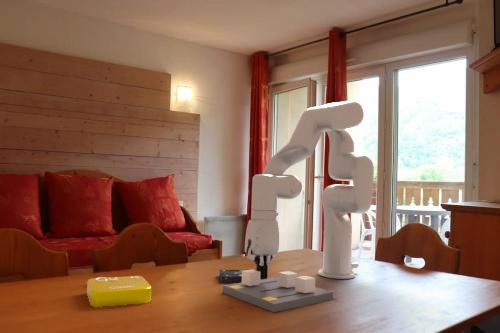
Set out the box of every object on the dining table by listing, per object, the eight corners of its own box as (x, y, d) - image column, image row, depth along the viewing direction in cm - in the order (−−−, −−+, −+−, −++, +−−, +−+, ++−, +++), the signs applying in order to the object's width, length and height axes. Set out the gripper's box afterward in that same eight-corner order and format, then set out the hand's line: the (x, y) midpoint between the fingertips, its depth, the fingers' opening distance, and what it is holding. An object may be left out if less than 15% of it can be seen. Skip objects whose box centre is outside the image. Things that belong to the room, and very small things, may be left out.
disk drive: (220, 285, 138) (267, 284, 139) (220, 276, 138) (267, 276, 140) (218, 277, 148) (262, 277, 150) (218, 269, 148) (262, 269, 150)
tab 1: (252, 281, 131) (252, 269, 131) (260, 284, 128) (260, 271, 128) (241, 283, 128) (241, 270, 128) (249, 286, 125) (249, 273, 125)
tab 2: (288, 283, 130) (288, 271, 130) (297, 285, 127) (297, 273, 127) (278, 285, 128) (278, 272, 128) (286, 287, 125) (287, 274, 125)
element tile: (91, 309, 108) (92, 290, 108) (86, 294, 122) (86, 276, 122) (152, 304, 114) (153, 285, 114) (141, 290, 128) (141, 273, 128)
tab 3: (305, 288, 125) (305, 275, 125) (314, 291, 122) (315, 278, 122) (295, 290, 122) (295, 277, 122) (304, 293, 119) (305, 279, 119)
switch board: (279, 283, 140) (279, 276, 140) (332, 299, 123) (333, 291, 123) (222, 292, 127) (222, 285, 127) (273, 312, 109) (274, 303, 110)
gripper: (274, 214, 139) (272, 273, 138) (236, 215, 129) (233, 278, 129) (290, 216, 133) (288, 278, 132) (252, 217, 123) (249, 284, 123)
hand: (261, 278), depth 131 cm, fingers closed
